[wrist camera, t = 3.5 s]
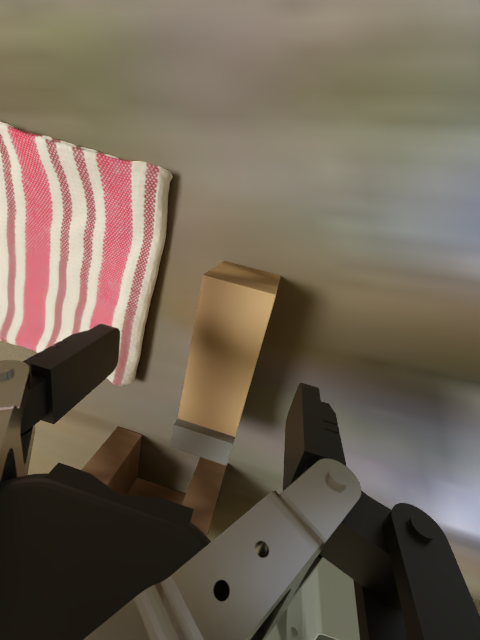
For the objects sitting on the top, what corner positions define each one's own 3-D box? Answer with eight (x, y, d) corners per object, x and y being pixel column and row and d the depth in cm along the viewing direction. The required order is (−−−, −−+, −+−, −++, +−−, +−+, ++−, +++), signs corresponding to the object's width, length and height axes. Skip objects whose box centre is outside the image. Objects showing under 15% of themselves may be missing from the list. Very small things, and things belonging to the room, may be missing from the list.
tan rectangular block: (280, 275, 19) (275, 298, 14) (241, 410, 24) (226, 465, 18) (225, 260, 19) (199, 277, 14) (197, 396, 24) (170, 446, 19)
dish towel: (-125, 77, 20) (-206, 51, 16) (181, 171, 18) (157, 161, 15) (-81, 297, 26) (-133, 308, 23) (146, 379, 25) (123, 404, 22)
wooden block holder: (227, 462, 26) (157, 715, 13) (211, 518, 29) (142, 765, 16) (117, 426, 27) (-50, 626, 14) (114, 484, 30) (-25, 690, 17)
